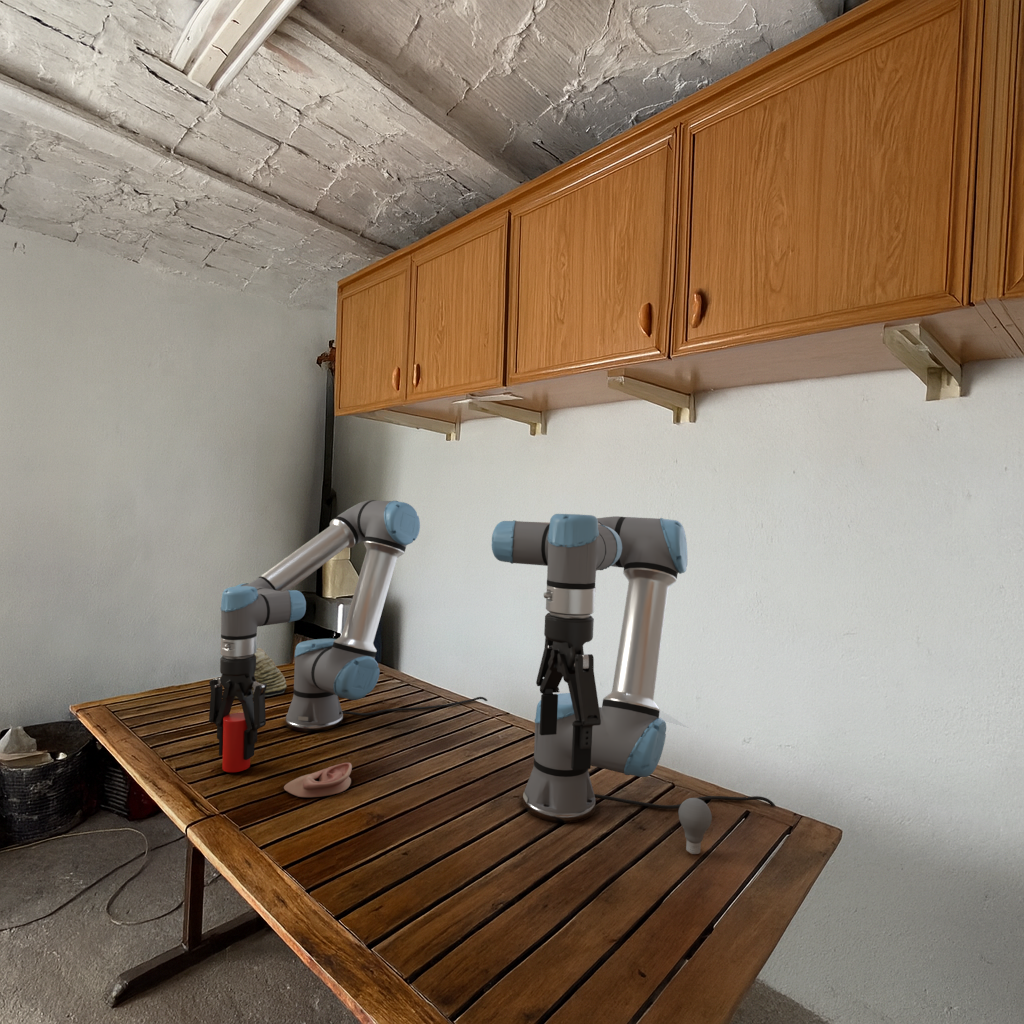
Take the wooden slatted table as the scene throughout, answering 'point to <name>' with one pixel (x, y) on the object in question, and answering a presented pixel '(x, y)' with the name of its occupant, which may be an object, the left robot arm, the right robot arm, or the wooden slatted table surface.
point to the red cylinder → (234, 743)
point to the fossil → (268, 674)
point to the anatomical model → (321, 782)
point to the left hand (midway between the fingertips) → (236, 755)
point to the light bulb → (694, 822)
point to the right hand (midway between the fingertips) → (563, 750)
